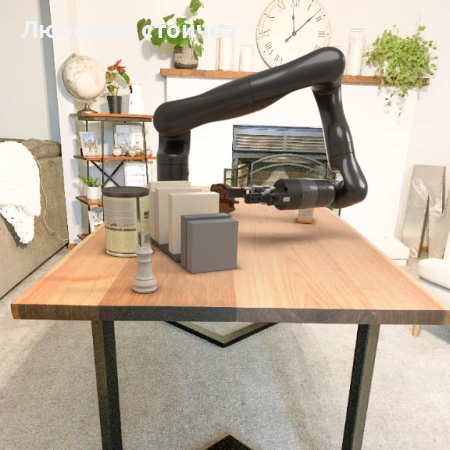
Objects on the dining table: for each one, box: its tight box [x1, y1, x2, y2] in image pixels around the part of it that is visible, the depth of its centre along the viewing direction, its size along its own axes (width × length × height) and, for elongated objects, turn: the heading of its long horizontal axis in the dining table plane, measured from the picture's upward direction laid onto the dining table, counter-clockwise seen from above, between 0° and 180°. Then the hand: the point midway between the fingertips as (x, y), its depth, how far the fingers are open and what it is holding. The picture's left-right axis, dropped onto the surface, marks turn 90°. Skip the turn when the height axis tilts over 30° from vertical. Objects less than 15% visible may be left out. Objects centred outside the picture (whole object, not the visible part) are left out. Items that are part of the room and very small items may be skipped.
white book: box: [168, 191, 219, 254], centre depth 100 cm, size 3×11×13 cm, turn 116°
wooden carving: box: [209, 182, 240, 214], centre depth 148 cm, size 16×5×10 cm, turn 49°
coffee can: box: [101, 185, 152, 258], centre depth 100 cm, size 10×10×14 cm
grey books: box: [180, 213, 239, 274], centre depth 91 cm, size 6×10×10 cm, turn 115°
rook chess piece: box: [131, 244, 158, 294], centre depth 77 cm, size 4×4×8 cm
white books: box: [147, 180, 203, 263], centre depth 105 cm, size 25×12×14 cm, turn 25°
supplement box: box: [297, 177, 315, 224], centre depth 141 cm, size 8×5×13 cm, turn 168°
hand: (236, 195), depth 102 cm, fingers open, 8 cm apart
